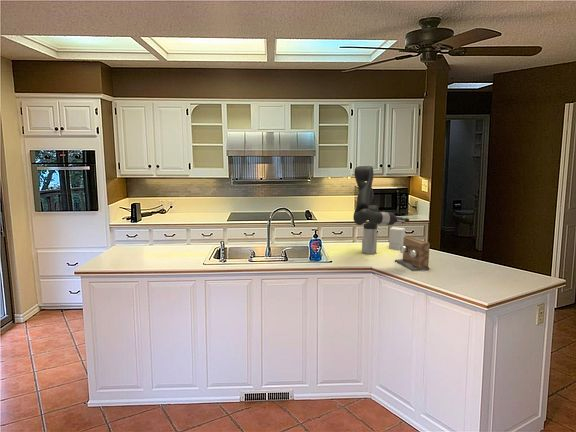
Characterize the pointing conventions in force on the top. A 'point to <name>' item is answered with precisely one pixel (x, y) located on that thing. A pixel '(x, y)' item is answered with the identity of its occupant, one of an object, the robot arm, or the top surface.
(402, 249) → the knob
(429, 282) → the top surface
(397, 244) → the supplement box
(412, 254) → the knob
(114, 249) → the top surface
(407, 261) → the knob panel
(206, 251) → the top surface
